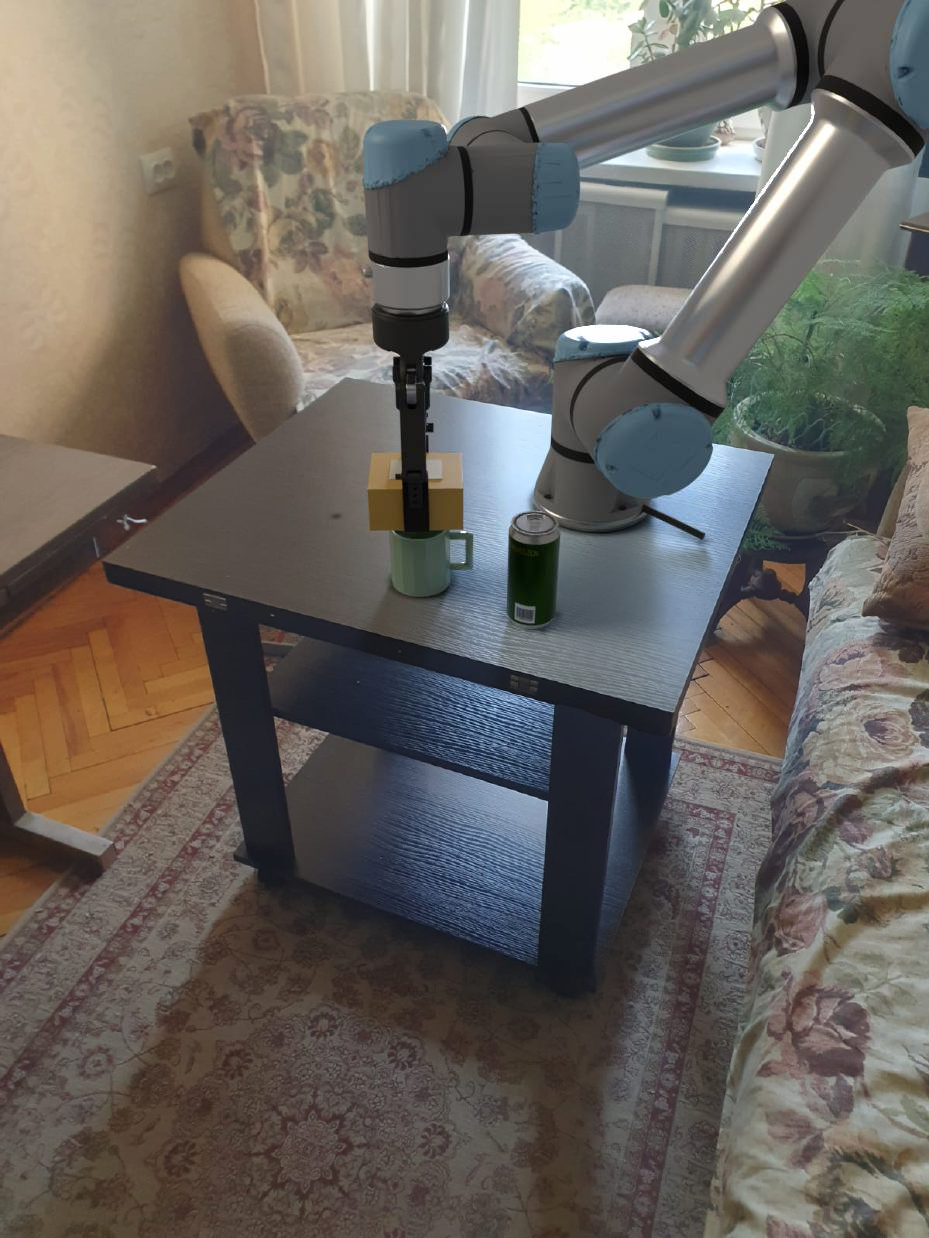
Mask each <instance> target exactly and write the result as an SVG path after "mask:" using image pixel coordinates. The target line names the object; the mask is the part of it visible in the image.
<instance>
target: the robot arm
mask: <svg viewBox="0 0 929 1238" xmlns="http://www.w3.org/2000/svg"><path fill="white" fill-rule="evenodd" d="M808 104H810V106H811V119H810V122H809V123H808V125H807V126H806V128H805V129H804V130H803V132H802V134H801V135H800V136H799V138H798V139H797V140H796V142H795V143H794V144H793V147H792V148H791V149H790V150H789V152H788V153H787V155H786V156H785V157H784V159H783V161H782V162H781V164H780V165H779V166H778V168H777V169H776V170H775V172H774V173H773V175H772V176H771V178H770V179H769V181H768V182H767V183H766V185H765V186H764V188H763V189H762V190H761V192H760V194H759V195H758V197H757V198H756V199H755V200H754V202H753V204H752V205H751V206H750V208H749V209H748V211H747V212H746V214H745V215H744V217H743V218H742V219H741V220H740V222H739V224H738V225H737V226H736V228H735V229H734V231H733V232H732V233H731V235H730V237H729V238H728V239H727V241H726V242H725V244H724V245H723V246H722V248H721V249H720V251H719V252H718V254H717V255H716V256H715V258H714V260H713V261H712V262H711V264H710V265H709V266H708V268H707V269H706V270H705V273H704V274H703V275H702V277H701V278H700V280H699V281H698V282H697V284H696V285H695V287H694V288H693V289H692V291H691V292H690V294H689V295H688V296H687V298H686V299H685V301H684V302H683V303H682V305H681V306H680V308H679V309H678V311H677V312H676V314H675V315H674V317H673V318H672V320H671V321H670V322H669V324H668V325H667V327H666V328H665V330H664V331H663V333H662V334H661V335H660V336H659V337H656V338H655V337H654V335H653V334H652V333H651V332H650V331H649V330H646V329H644V328H639V327H636V326H630V325H617V324H598V325H597V324H596V325H588V326H587V325H586V326H579V327H575V328H572V329H569V330H567V331H565V332H563V333H562V334H560V335H559V336H558V339H557V340H556V343H555V353H554V357H553V358H552V363H554V365H553V385H552V401H551V402H552V405H551V408H552V409H551V422H550V429H551V430H550V445H549V449H548V450H547V451H548V452H547V454H546V456H545V459H544V462H543V463H542V466H541V469H540V471H539V474H538V476H537V478H536V481H535V484H534V487H533V488H534V489H533V505H534V508H535V509H536V510H535V511H542V512H546V513H549V514H551V515H553V516H554V517H556V518H557V520H558V523H559V527H563V528H566V529H570V530H574V531H575V530H576V531H580V532H581V531H582V532H589V533H591V532H592V533H605V532H614V531H619V530H624V529H626V528H630V527H632V526H634V525H636V524H638V523H641V521H643V520H644V519H645V518H646V517H647V515H649V516H651V517H654V518H655V519H657V520H660V521H662V522H664V523H666V524H668V525H670V526H673V527H675V528H676V529H679V530H681V531H682V532H685V533H686V534H688V535H691V536H692V537H695V538H696V539H699V540H701V541H703V540H704V538H705V537H706V533H705V532H703V530H699V529H698V528H696V527H694V526H691V525H689V524H687V523H685V522H683V521H681V520H680V519H678V518H674V517H672V516H670V515H668V514H666V513H664V512H662V511H660V510H658V509H655V508H653V507H651V502H652V499H653V500H654V499H657V498H659V497H660V498H661V497H664V496H671V495H673V494H677V493H678V492H680V491H682V490H684V489H685V488H687V487H688V486H690V485H691V484H692V483H694V482H695V481H696V480H697V479H698V478H699V477H700V476H701V475H702V474H703V472H704V471H705V470H706V468H707V466H708V465H709V463H710V461H711V458H712V455H713V452H714V446H713V441H714V433H713V430H712V426H714V424H715V423H716V421H717V420H718V419H719V417H720V416H721V415H722V413H723V412H724V410H726V408H727V407H728V404H729V403H728V394H727V384H728V382H729V380H730V379H731V378H732V377H733V375H734V374H735V373H736V371H737V370H738V368H739V367H740V366H741V364H742V363H743V362H744V360H746V358H747V357H748V355H749V354H750V353H751V351H752V350H753V348H754V347H755V346H756V345H757V343H758V342H759V340H760V339H761V338H762V336H763V335H764V334H765V332H766V331H767V330H768V328H769V327H770V326H771V325H772V323H773V322H774V321H775V319H776V318H777V317H778V315H779V314H780V312H781V311H782V310H783V309H784V307H785V306H786V304H787V303H788V302H789V300H790V299H791V298H792V296H793V295H794V294H795V293H796V291H797V290H798V288H800V286H801V284H802V283H803V282H804V280H805V279H806V278H807V276H808V275H809V274H810V272H811V271H812V270H813V269H814V267H815V266H816V264H817V263H818V262H819V260H820V259H821V258H822V257H823V255H824V254H825V252H826V251H827V250H828V248H829V247H830V246H831V244H832V243H833V242H834V241H835V239H836V238H837V236H838V235H839V234H840V232H841V231H842V230H843V229H844V227H846V224H847V223H848V222H849V221H850V219H851V218H852V216H853V215H854V214H855V212H856V211H857V210H858V209H859V207H860V206H861V204H862V203H863V202H864V201H865V199H866V198H867V196H868V195H869V194H870V192H871V191H872V190H873V189H874V187H875V186H876V184H877V183H878V182H879V180H880V179H881V177H883V175H885V173H886V172H887V171H889V170H893V169H896V168H900V167H904V166H907V165H910V164H912V163H913V162H914V161H915V159H916V158H917V156H919V154H920V153H921V152H922V150H923V149H924V148H925V146H926V145H927V143H928V142H929V0H783V1H781V2H778V3H775V4H772V5H769V6H767V7H765V8H763V9H761V10H760V11H759V12H758V13H757V15H756V16H755V18H754V21H753V23H752V24H750V25H747V26H744V27H742V28H741V27H740V28H739V29H735V30H732V31H730V32H727V33H725V34H724V33H723V34H722V35H719V36H716V37H713V38H711V39H708V40H705V41H702V42H699V43H696V44H694V45H690V46H688V47H684V48H682V49H680V50H677V51H674V52H671V53H669V54H666V55H663V56H660V57H657V58H653V59H652V60H648V61H646V62H644V63H643V62H642V63H640V64H638V65H635V66H631V67H628V68H626V69H623V70H620V71H618V72H615V73H613V74H609V75H606V76H604V77H601V78H598V79H594V80H593V81H590V82H586V83H584V84H581V85H578V86H576V87H575V86H574V87H573V88H570V89H568V90H565V91H562V92H559V93H556V94H553V95H551V96H548V97H544V98H542V99H539V100H536V101H534V102H531V103H527V104H525V105H523V106H521V107H518V108H515V109H511V110H507V111H505V112H502V113H499V114H496V115H494V116H487V115H470V116H466V117H465V118H463V119H460V120H459V121H457V122H456V123H455V124H454V125H453V126H452V127H451V129H450V130H449V131H448V132H447V128H446V127H445V126H444V125H443V124H442V123H440V122H437V121H434V120H427V119H412V118H411V119H410V118H409V119H391V120H386V121H385V120H384V121H379V122H375V123H374V124H372V125H371V126H370V127H368V128H367V130H366V131H365V133H364V136H363V141H362V145H363V147H362V149H363V153H362V154H363V178H362V185H363V195H364V209H365V210H364V211H365V223H366V236H367V238H366V239H367V249H368V253H367V254H368V258H369V259H368V260H369V266H367V267H364V268H363V270H362V276H363V277H364V278H367V279H371V280H370V297H371V300H372V302H374V304H373V306H371V322H372V323H371V324H372V339H373V342H374V344H375V345H376V346H377V347H378V348H380V349H381V350H383V351H386V352H392V353H395V354H396V355H397V356H396V355H394V356H392V366H391V367H392V368H391V369H392V370H391V375H392V382H393V383H394V386H395V389H394V393H395V408H396V410H398V411H399V432H400V453H401V462H402V471H401V474H395V480H402V494H403V516H404V532H430V523H429V486H428V471H427V468H426V453H430V446H429V444H430V443H429V442H430V440H429V439H430V438H429V433H431V434H432V433H434V432H435V430H434V429H435V427H434V426H435V424H434V422H428V418H429V413H428V411H429V409H430V408H431V384H432V381H433V356H432V355H426V354H427V353H429V352H436V351H438V350H440V349H442V348H443V347H445V346H446V345H447V344H448V342H449V340H450V307H449V304H447V303H446V302H447V301H448V300H449V299H450V297H451V295H450V293H451V291H450V289H451V288H450V255H449V241H450V238H451V237H468V236H494V235H515V234H516V235H517V234H534V235H540V233H548V232H549V233H550V232H555V231H562V230H566V229H567V228H569V227H570V226H571V225H572V223H573V222H574V220H575V218H576V216H577V213H578V209H579V205H580V197H581V174H580V173H581V172H580V171H583V170H585V169H588V168H591V167H594V166H597V165H599V164H603V163H605V162H609V161H611V160H614V159H617V158H620V157H622V156H625V155H628V154H631V153H634V152H637V151H639V150H643V149H646V148H649V147H651V146H654V145H657V144H660V143H663V142H666V141H668V140H672V139H675V138H677V137H680V136H683V135H685V134H688V133H691V132H694V131H697V130H699V129H703V128H705V127H709V126H712V125H714V124H717V123H719V122H723V121H726V120H728V119H731V118H735V117H737V116H740V115H743V114H745V113H749V112H751V111H754V110H757V109H760V108H762V107H766V108H768V109H769V110H770V111H772V112H777V113H779V112H782V111H785V110H788V109H792V108H794V107H798V106H802V105H808ZM427 433H428V434H427Z"/></svg>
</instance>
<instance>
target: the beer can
mask: <svg viewBox="0 0 929 1238" xmlns="http://www.w3.org/2000/svg"><path fill="white" fill-rule="evenodd" d="M560 545H561V528H560V525H559V523H558V520H557V518H556V517H554V516H553V515H551V514H549V513H546V512H542V511H537V510H527V511H522V512H519V513H517V514H515V515H514V516H512V518H511V520H510V526H509V528H508V540H507V577H506V579H507V581H506V615H507V617H508V618H509V620H510V622H511V623H512V624H513V625H514V626H516V627H517V628H520V629H524V630H539V629H543V628H545V627H547V626H549V625H550V624H551V622H552V621H553V619H554V617H555V615H556V612H557V611H556V610H557V593H558V580H559V579H558V578H559V561H560V547H561V546H560Z"/></svg>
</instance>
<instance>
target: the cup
mask: <svg viewBox="0 0 929 1238" xmlns="http://www.w3.org/2000/svg"><path fill="white" fill-rule="evenodd" d="M462 540H463V541H464V544H465V545H464V546H465V547H464V550H465V553H464V556H465V559H464V560H465V561H464V562H451V541H462ZM388 541H389V557H390V570H391V571H390V572H391V582H392V586H393V588H394V589H395V590H396V591H397V592H399V594H403V595H405V596H408V597H414V598H427V597H432V596H436V595H438V594H441V593H443V592H444V591H445V590H446V589H448V587H449V586H450V584H451V581H452V580H451V575H452V574H451V571H471V570H473V568H474V533H473V532H472V531H451V530H430V532H404V530H388Z"/></svg>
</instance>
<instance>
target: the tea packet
mask: <svg viewBox="0 0 929 1238" xmlns="http://www.w3.org/2000/svg"><path fill="white" fill-rule="evenodd" d="M426 468H427V471H428V486H429V523H430V530H450V531H463V530H464V474H463V473H464V472H463V457H462V452H461V451H450V452H447V451H446V452H445V451H444V452H443V451H441V452H440V451H439V452H437V451H436V452H435V451H434V452H430V451H429V453H426ZM401 471H402V462H401V452H371V455H370V462H369V472H368V480H367V490H366V493H367V506H368V519H369V520H368V521H369V522H368V524H369V531H371V532H373V531H374V532H375V531H376V532H377V531H378V532H380V531H384V532H385V531H388V532H389V530H404V516H403V494H402V480H395V474H401Z"/></svg>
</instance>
